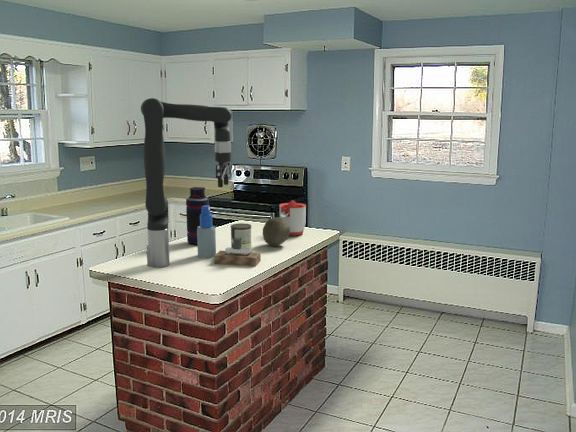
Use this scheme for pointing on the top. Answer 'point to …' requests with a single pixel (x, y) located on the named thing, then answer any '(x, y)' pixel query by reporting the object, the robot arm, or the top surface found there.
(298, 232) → the citrus juicer
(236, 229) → the coffee can
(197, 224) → the dark navy bottle
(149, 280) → the top surface
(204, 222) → the spray bottle
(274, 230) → the cantaloupe
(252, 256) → the wooden block with holes
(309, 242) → the top surface
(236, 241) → the clip
